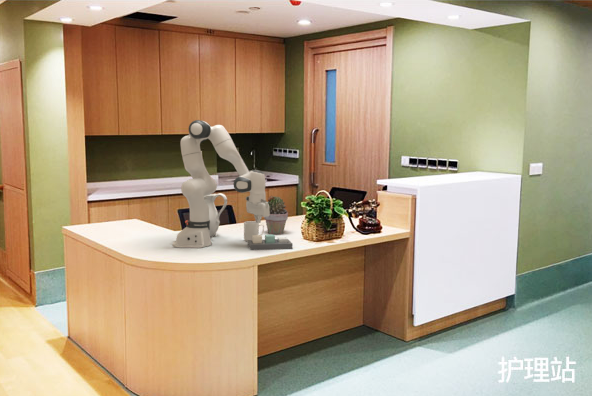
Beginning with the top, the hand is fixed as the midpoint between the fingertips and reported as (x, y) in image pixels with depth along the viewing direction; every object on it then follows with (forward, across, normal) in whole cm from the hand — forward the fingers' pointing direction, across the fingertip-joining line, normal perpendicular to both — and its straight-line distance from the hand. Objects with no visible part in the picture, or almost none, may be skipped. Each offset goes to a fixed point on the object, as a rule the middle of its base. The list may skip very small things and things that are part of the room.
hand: (258, 222), depth 340 cm
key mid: (+12, -2, -6) cm, 14 cm away
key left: (+12, +1, 0) cm, 12 cm away
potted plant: (+14, +31, -32) cm, 47 cm away
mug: (+14, +18, -7) cm, 24 cm away
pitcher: (+14, +42, +10) cm, 45 cm away
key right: (+14, -5, -13) cm, 20 cm away
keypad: (+15, -2, -6) cm, 16 cm away
